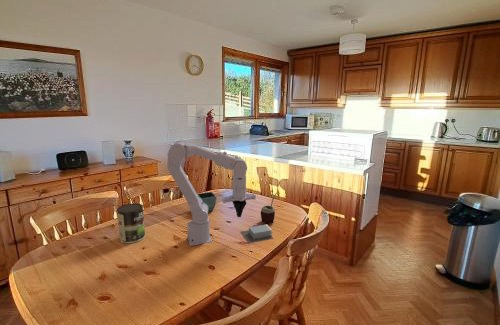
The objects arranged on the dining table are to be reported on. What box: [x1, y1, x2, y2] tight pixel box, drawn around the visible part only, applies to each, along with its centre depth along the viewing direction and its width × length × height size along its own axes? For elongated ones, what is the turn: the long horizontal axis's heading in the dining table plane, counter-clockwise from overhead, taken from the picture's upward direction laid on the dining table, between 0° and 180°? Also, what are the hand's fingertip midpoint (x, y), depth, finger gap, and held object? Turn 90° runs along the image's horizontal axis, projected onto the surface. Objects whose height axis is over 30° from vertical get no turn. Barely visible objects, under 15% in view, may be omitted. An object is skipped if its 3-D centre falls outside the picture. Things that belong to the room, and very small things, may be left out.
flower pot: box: [197, 191, 217, 212], centre depth 143 cm, size 9×9×9 cm
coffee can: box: [116, 202, 146, 244], centre depth 112 cm, size 10×10×14 cm
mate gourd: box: [260, 192, 278, 225], centre depth 129 cm, size 8×8×15 cm
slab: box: [248, 223, 273, 239], centre depth 117 cm, size 3×6×9 cm
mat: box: [239, 229, 275, 244], centre depth 117 cm, size 12×11×1 cm
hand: (238, 216), depth 113 cm, fingers closed
